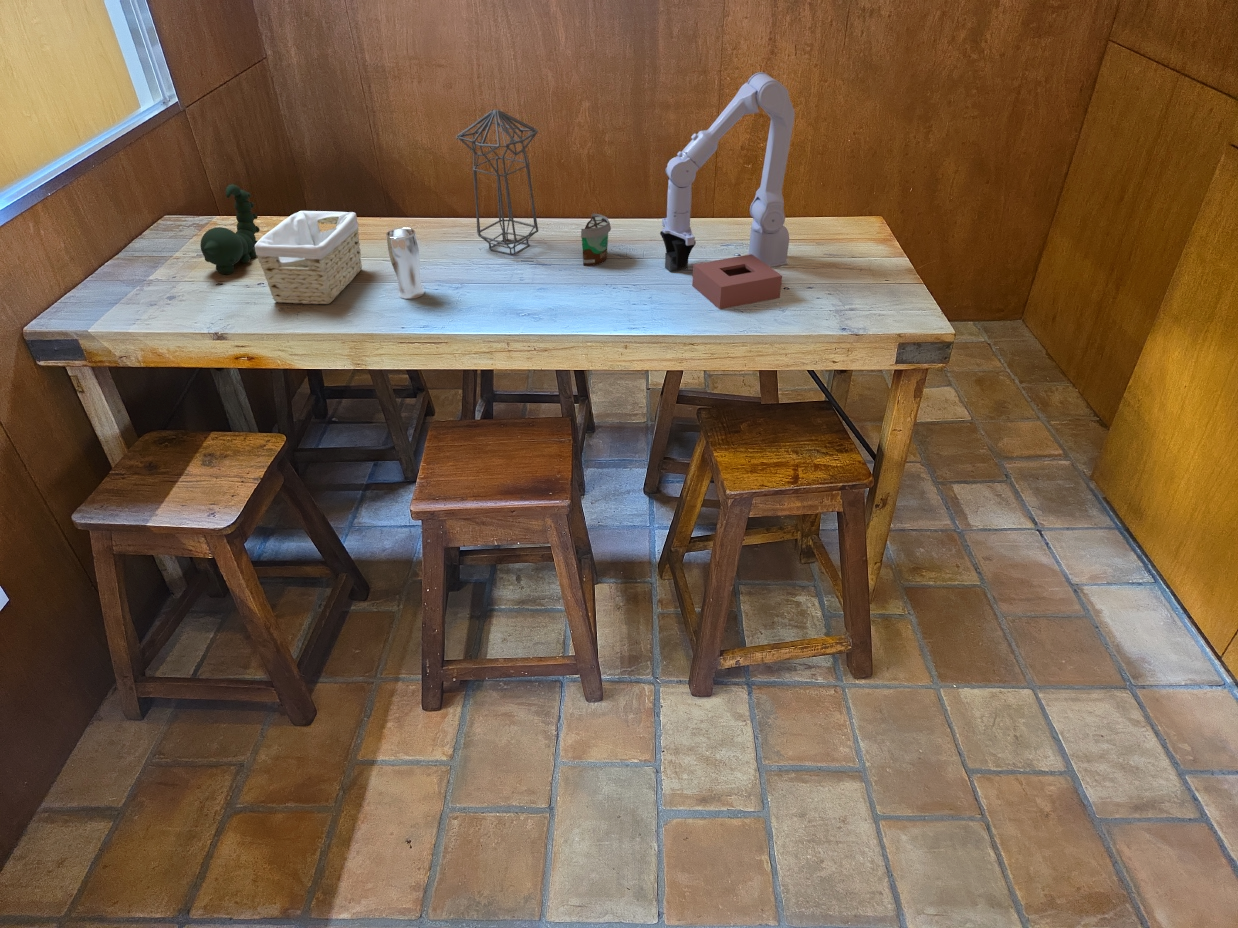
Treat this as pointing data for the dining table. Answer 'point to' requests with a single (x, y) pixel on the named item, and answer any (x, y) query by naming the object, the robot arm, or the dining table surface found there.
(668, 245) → the robot arm
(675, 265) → the grey rectangular block
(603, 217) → the food container
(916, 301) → the dining table surface
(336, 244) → the storage basket
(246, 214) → the toy figurine
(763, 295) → the box
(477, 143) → the geometric lantern
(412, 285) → the beer glass
